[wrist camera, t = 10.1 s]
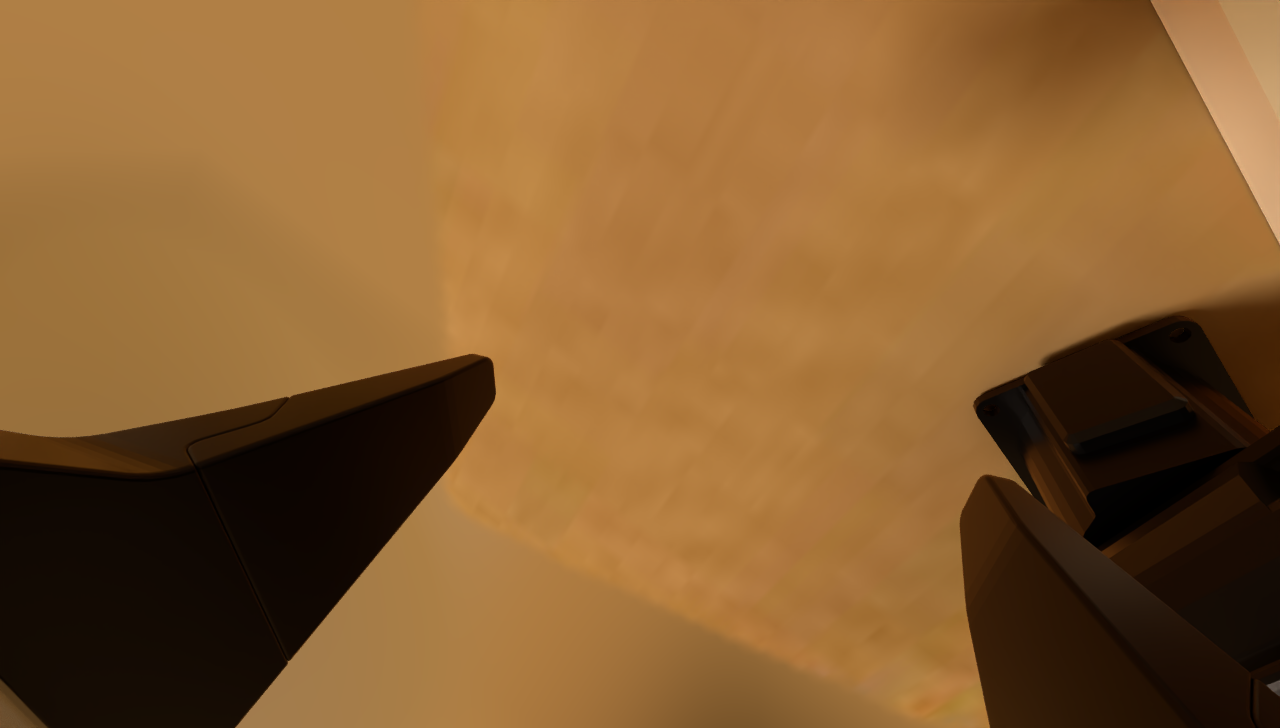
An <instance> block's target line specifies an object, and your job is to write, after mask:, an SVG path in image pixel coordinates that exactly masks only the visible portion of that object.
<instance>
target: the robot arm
mask: <svg viewBox="0 0 1280 728" xmlns="http://www.w3.org/2000/svg"><path fill="white" fill-rule="evenodd" d="M1179 328H1184V331H1183V333H1182V334H1181V335H1179V336H1177V337H1173V338H1170V334H1171V333H1172V332H1173V331H1174V330H1176V329H1179ZM495 395H496V388H495V377H494V366H493V362H492V360H491V359H490V358H488V357H485V356H481V355H476V354H468V355H464V356H460V357H455V358H451V359H447V360H443V361H438V362H434V363H430V364H426V365H421V366H417V367H413V368H408V369H404V370H400V371H396V372H391V373H387V374H383V375H378V376H374V377H370V378H365V379H361V380H357V381H353V382H348V383H344V384H340V385H336V386H331V387H327V388H323V389H318V390H314V391H310V392H305V393H301V394H297V395H293V396H291V397H290V398H289V397H284V398H280V399H275V400H271V401H266V402H262V403H257V404H253V405H249V406H244V407H239V408H235V409H230V410H226V411H220V412H215V413H210V414H206V415H200V416H195V417H190V418H185V419H180V420H175V421H169V422H164V423H159V424H153V425H148V426H143V427H137V428H132V429H127V430H122V431H117V432H111V433H106V434H99V435H93V436H83V437H43V436H35V435H28V434H22V433H16V432H10V431H3V430H0V728H235V727H236V726H237V725H238V724H239V723H240V721H241V720H242V719H243V718H244V716H245V715H246V714H247V713H248V712H249V710H250V709H251V708H252V707H253V706H254V704H255V703H256V702H257V701H258V700H259V698H260V697H261V696H262V695H263V693H264V692H265V691H266V690H267V689H268V687H269V686H270V685H271V684H272V682H273V681H274V680H275V679H276V678H277V676H278V675H279V674H280V673H281V671H282V670H283V669H284V668H285V667H286V666H287V664H288V661H290V660H291V659H292V658H293V656H294V655H295V654H296V653H297V652H298V651H299V649H300V648H301V647H302V646H303V644H304V643H305V642H306V641H307V640H308V638H309V637H310V636H311V634H313V632H314V631H315V630H316V629H317V627H318V626H319V625H320V624H321V622H322V621H323V620H324V619H325V618H326V617H327V615H328V614H329V613H330V612H331V611H332V609H333V608H334V607H335V606H336V604H337V603H338V602H339V601H340V600H341V598H342V597H343V596H344V595H345V593H346V592H347V591H348V590H349V589H350V587H351V586H352V585H353V584H354V583H355V581H356V580H357V579H358V578H359V577H360V575H361V574H362V573H363V572H364V570H365V569H366V568H367V567H368V566H369V564H370V563H371V562H372V561H373V560H374V558H375V557H376V556H377V554H378V553H379V552H380V551H381V550H382V549H383V547H384V546H385V545H386V544H387V543H388V541H389V540H390V539H391V538H392V536H393V535H394V534H395V533H396V532H397V530H398V529H399V528H400V527H401V526H402V524H403V523H404V522H405V521H406V519H407V518H408V517H409V516H410V515H411V513H412V512H413V511H414V510H415V509H416V507H417V506H418V505H419V504H420V502H421V501H422V500H423V499H424V498H425V496H426V495H427V494H428V493H429V492H430V490H431V489H432V488H433V487H434V486H435V484H436V483H437V482H438V481H439V479H440V478H441V477H442V476H443V475H444V473H445V472H446V471H447V470H448V469H449V467H450V466H451V465H452V463H453V462H454V461H455V460H456V458H457V457H458V455H459V454H460V453H461V451H462V450H463V448H464V447H465V445H466V444H467V442H468V441H469V439H470V438H471V436H472V435H473V433H474V432H475V430H476V429H477V427H478V425H479V424H480V422H481V421H482V419H483V418H484V416H485V415H486V413H487V412H488V410H489V409H490V407H491V406H492V404H493V402H494V400H495ZM991 404H993V405H997V406H996V408H995V409H993V410H990V411H987V410H984V408H985V407H986V406H987V405H991ZM973 407H974V410H975V412H976V414H977V416H978V418H979V419H980V421H981V422H982V424H983V425H984V426H985V428H986V429H987V431H988V432H989V434H990V435H991V436H992V438H993V439H994V441H995V442H996V444H997V445H998V446H999V448H1000V449H1001V451H1002V452H1003V454H1004V455H1005V456H1006V458H1007V459H1008V461H1009V462H1010V464H1011V465H1012V466H1013V468H1014V469H1015V471H1016V472H1017V474H1018V475H1019V476H1020V478H1021V479H1022V481H1023V482H1024V484H1025V485H1026V486H1027V488H1028V489H1029V491H1030V492H1031V494H1032V495H1033V496H1034V497H1033V496H1032V495H1031V494H1029V493H1028V492H1027V491H1026V490H1024V489H1023V488H1022V487H1021V486H1019V485H1018V484H1017V483H1016V482H1014V481H1012V480H1010V479H1005V478H1001V477H997V476H992V475H987V474H986V475H983V476H981V477H980V478H979V479H978V481H977V483H976V485H975V487H974V488H973V490H972V492H971V494H970V496H969V498H968V500H967V502H966V504H965V506H964V508H963V510H962V513H961V517H960V537H961V550H962V564H963V577H964V590H965V602H966V611H967V617H968V622H969V628H970V633H971V638H972V642H973V647H974V652H975V657H976V662H977V667H978V672H979V676H980V681H981V686H982V691H983V696H984V701H985V706H986V710H987V715H988V720H989V725H990V728H1280V426H1278V427H1277V428H1275V429H1274V430H1272V431H1271V432H1270V431H1269V430H1267V429H1266V428H1265V427H1264V426H1262V425H1261V424H1260V423H1258V422H1257V421H1256V420H1255V419H1254V417H1253V416H1252V414H1251V412H1250V411H1249V409H1248V407H1247V405H1246V404H1245V402H1244V400H1243V399H1242V397H1241V395H1240V393H1239V392H1238V390H1237V388H1236V387H1235V385H1234V383H1233V381H1232V380H1231V378H1230V376H1229V375H1228V373H1227V371H1226V369H1225V368H1224V366H1223V364H1222V362H1221V361H1220V359H1219V357H1218V356H1217V354H1216V352H1215V350H1214V349H1213V347H1212V345H1211V344H1210V342H1209V340H1208V338H1207V337H1206V335H1205V333H1204V332H1203V330H1202V328H1201V327H1200V326H1199V325H1198V324H1197V323H1196V322H1194V321H1193V320H1191V319H1189V318H1187V317H1184V316H1173V317H1169V318H1166V319H1163V320H1161V321H1158V322H1156V323H1154V324H1151V325H1149V326H1146V327H1144V328H1141V329H1139V330H1137V331H1134V332H1132V333H1129V334H1127V335H1125V336H1122V337H1120V338H1117V339H1115V340H1105V341H1103V342H1100V343H1098V344H1096V345H1093V346H1091V347H1088V348H1086V349H1084V350H1081V351H1079V352H1077V353H1074V354H1072V355H1069V356H1067V357H1065V358H1062V359H1060V360H1057V361H1055V362H1053V363H1050V364H1048V365H1045V366H1043V367H1041V368H1038V369H1036V370H1033V371H1031V372H1029V373H1028V374H1027V375H1026V377H1024V378H1021V379H1019V380H1016V381H1014V382H1012V383H1009V384H1007V385H1004V386H1002V387H1000V388H997V389H995V390H992V391H990V392H988V393H985V394H983V395H981V396H979V397H978V398H977V399H976V400H975V401H974V405H973Z"/></svg>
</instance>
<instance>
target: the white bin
mask: <svg viewBox="0 0 1280 728" xmlns="http://www.w3.org/2000/svg"><path fill="white" fill-rule="evenodd" d="M1150 1H1151V3H1152V5H1153V6H1154V8H1155V10H1156V12H1157V14H1158V16H1159V18H1160V20H1161V21H1162V23H1163V25H1164V27H1165V29H1166V31H1167V33H1168V35H1169V37H1170V38H1171V40H1172V42H1173V44H1174V46H1175V48H1176V50H1177V52H1178V53H1179V55H1180V57H1181V59H1182V61H1183V63H1184V65H1185V67H1186V69H1187V70H1188V72H1189V74H1190V76H1191V78H1192V80H1193V82H1194V84H1195V85H1196V87H1197V89H1198V91H1199V93H1200V95H1201V97H1202V99H1203V101H1204V102H1205V104H1206V106H1207V108H1208V110H1209V112H1210V114H1211V116H1212V118H1213V119H1214V121H1215V123H1216V125H1217V127H1218V129H1219V131H1220V133H1221V134H1222V136H1223V138H1224V140H1225V142H1226V144H1227V146H1228V148H1229V150H1230V151H1231V153H1232V155H1233V157H1234V159H1235V161H1236V163H1237V165H1238V166H1239V168H1240V170H1241V172H1242V174H1243V176H1244V178H1245V180H1246V182H1247V183H1248V185H1249V187H1250V189H1251V191H1252V193H1253V195H1254V197H1255V199H1256V200H1257V202H1258V204H1259V206H1260V208H1261V210H1262V212H1263V214H1264V215H1265V217H1266V219H1267V221H1268V223H1269V225H1270V227H1271V229H1272V231H1273V232H1274V234H1275V236H1276V238H1277V240H1278V242H1279V244H1280V0H1150Z"/></svg>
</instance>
